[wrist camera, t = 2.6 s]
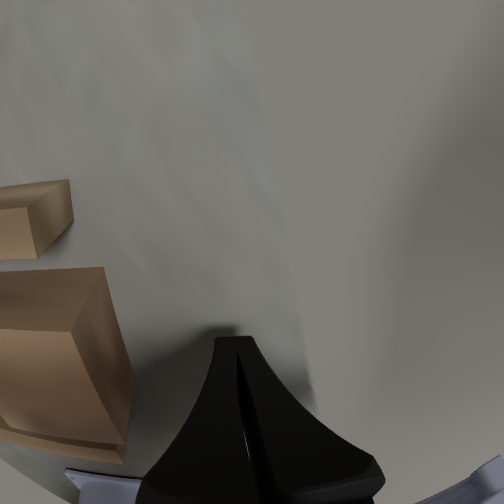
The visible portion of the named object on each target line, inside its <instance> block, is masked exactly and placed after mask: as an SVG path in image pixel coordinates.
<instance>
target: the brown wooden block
mask: <svg viewBox="0 0 504 504" xmlns="http://www.w3.org/2000/svg"><path fill="white" fill-rule="evenodd" d="M135 379H136V378H135V375H134V372H133V369H132V366H131V364H130V361H129V357H128V354H127V351H126V348H125V345H124V342H123V339H122V335H121V332H120V329H119V325H118V322H117V318H116V315H115V311H114V307H113V304H112V300H111V296H110V292H109V288H108V284H107V280H106V275H105V271H104V267H92V268H72V269H51V270H30V271H8V272H0V415H1V416H2V417H3V419H4V420H5V421H6V422H7V424H8V425H9V426H10V427H12V428H16V429H20V430H25V431H29V432H34V433H39V434H44V435H50V436H55V437H61V438H68V439H75V440H82V441H91V442H100V443H110V444H123V445H125V443H126V436H127V429H128V422H129V415H130V408H131V402H132V396H133V390H134V384H135Z"/></svg>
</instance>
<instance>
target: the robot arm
mask: <svg viewBox="0 0 504 504" xmlns="http://www.w3.org/2000/svg"><path fill="white" fill-rule="evenodd" d="M242 425H243V426H242ZM243 430H244V431H243ZM244 434H245V437H244ZM245 438H246V442H247V447H248V451H247V447H246V442H245ZM248 452H249V456H248ZM249 459H250V461H249ZM64 474H65V475H66V476H67V477H68V478H69V479H70V480H71V481H72V482H73V483H74V484H75V485H76V486H77V487H78V488H79V489H80V496H79V503H78V504H374V501H373V498H372V497H373V496H374V495H375V494H376V493H377V492H378V491H379V490H380V489H381V488H382V487H383V485H384V484H385V477H384V474H383V472H382V470H381V468H380V466H379V465H378V463H377V462H376V460H375V458H374V457H373V456H372V455H370V454H368V453H366V452H365V451H363V450H361V449H359V448H357V447H356V446H354V445H352V444H350V443H349V442H347V441H346V440H344V439H343V438H341V437H340V436H338V435H337V434H335V433H334V432H333V431H332V430H330V429H329V428H327V427H326V426H325V425H324V424H322V423H321V422H320V421H319V420H317V419H316V418H315V417H314V416H313V415H312V414H311V413H310V412H308V411H307V410H306V409H305V408H304V407H303V406H302V405H301V404H300V403H299V402H298V401H297V400H296V399H295V398H294V397H293V395H292V394H291V393H290V392H289V391H288V390H287V388H286V387H285V386H284V385H283V384H282V382H281V381H280V380H279V379H278V377H277V376H276V374H275V373H274V372H273V370H272V369H271V367H270V366H269V365H268V363H267V362H266V360H265V358H264V357H263V355H262V354H261V352H260V350H259V348H258V346H257V345H256V343H255V340H254V338H253V337H252V336H233V337H217V338H216V339H215V345H214V352H213V357H212V361H211V364H210V367H209V371H208V374H207V377H206V380H205V382H204V385H203V387H202V390H201V392H200V394H199V397H198V399H197V401H196V403H195V405H194V407H193V409H192V411H191V413H190V415H189V417H188V418H187V420H186V422H185V423H184V425H183V427H182V428H181V430H180V432H179V433H178V435H177V436H176V438H175V439H174V441H173V442H172V443H171V445H170V446H169V447H168V449H167V450H166V451H165V453H164V454H163V455H162V457H161V458H160V459H159V460H158V461H157V463H156V464H155V465H154V466H153V467H152V468H151V469H150V470H149V471H148V473H147V474H146V475H145V476H144V477H143V479H142V480H139V479H128V478H119V477H110V476H103V475H96V474H90V473H84V472H78V471H73V470H68V469H67V470H65V472H64ZM415 504H504V459H503V458H502V456H501V455H498V456H496V457H495V458H493V459H492V460H490V461H488V462H487V463H485V464H483V465H482V466H480V467H479V468H478V469H477V470H475V471H474V472H473V473H472V474H471V475H470V477H468V478H466V479H465V480H463V481H461V482H459V483H457V484H455V485H454V486H451V487H449V488H447V489H445V490H443V491H441V492H439V493H437V494H435V495H433V496H431V497H429V498H427V499H424V500H422V501H420V502H417V503H415Z"/></svg>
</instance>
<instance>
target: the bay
mask: <svg viewBox="0 0 504 504" xmlns="http://www.w3.org/2000/svg"><path fill="white" fill-rule="evenodd" d="M73 221H74V218H73V211H72V204H71V196H70V188H69V179H67V180H57V181H48V182H39V183H31V184H23V185H16V186H9V187H2V188H0V260H7V259H38V258H39V257H40V256H41V254H42V253H43V252H44V251H45V250H46V249H47V248H48V247H49V246H50V245H51V244H52V243H53V241H54V240H55V239H56V238H57V237H58V236H59V235H60V234H61V233H62V232H63V231H64V230H65V229H66V228H67V227H68V226H69V225H70V224H71V223H72V222H73ZM129 422H130V419H129ZM129 422H128V429H129ZM128 429H127V436H126V443H125V445H123V444H110V443H100V442H91V441H82V440H75V439H68V438H61V437H55V436H50V435H44V434H39V433H34V432H29V431H25V430H20V429H16V428H12V427H10V426H9V425H8V424H7V422H6V421H5V420H4V419H3V417H2V416H1V415H0V440H3V441H7V442H10V443H13V444H17V445H20V446H24V447H28V448H32V449H36V450H40V451H44V452H48V453H53V454H58V455H63V456H68V457H73V458H79V459H85V460H91V461H98V462H106V463H114V464H123V465H124V461H125V453H126V445H127V437H128Z"/></svg>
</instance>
